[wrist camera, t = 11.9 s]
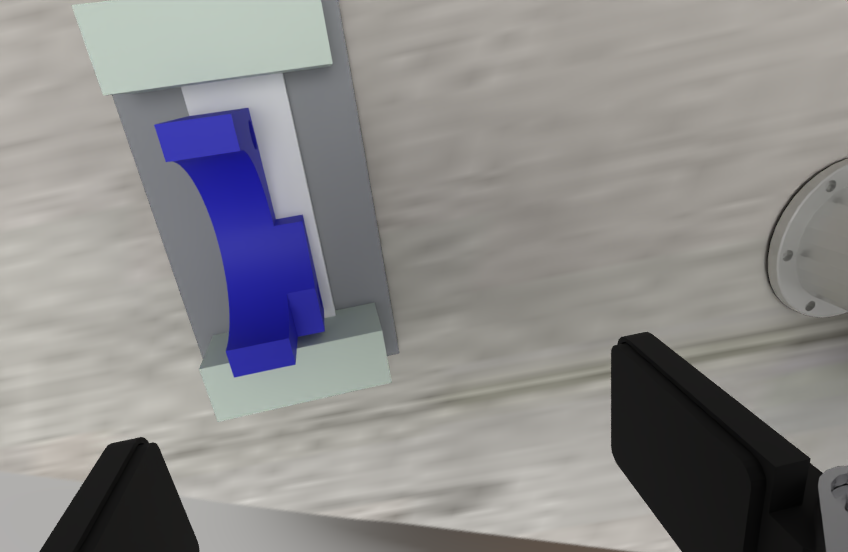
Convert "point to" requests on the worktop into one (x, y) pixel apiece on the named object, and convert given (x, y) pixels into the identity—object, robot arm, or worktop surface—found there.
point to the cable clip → (249, 240)
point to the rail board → (283, 166)
